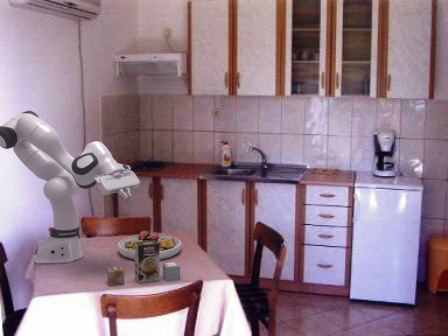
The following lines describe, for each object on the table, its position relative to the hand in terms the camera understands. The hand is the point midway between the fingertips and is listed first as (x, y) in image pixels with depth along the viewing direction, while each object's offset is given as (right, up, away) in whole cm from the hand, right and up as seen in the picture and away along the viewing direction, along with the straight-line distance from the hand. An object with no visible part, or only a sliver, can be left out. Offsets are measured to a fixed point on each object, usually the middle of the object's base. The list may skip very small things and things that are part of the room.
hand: (128, 198), depth 245 cm
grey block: (+18, -34, -1) cm, 38 cm away
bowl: (+5, -28, +34) cm, 45 cm away
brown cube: (-4, -35, -7) cm, 35 cm away
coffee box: (+8, -34, -3) cm, 35 cm away
